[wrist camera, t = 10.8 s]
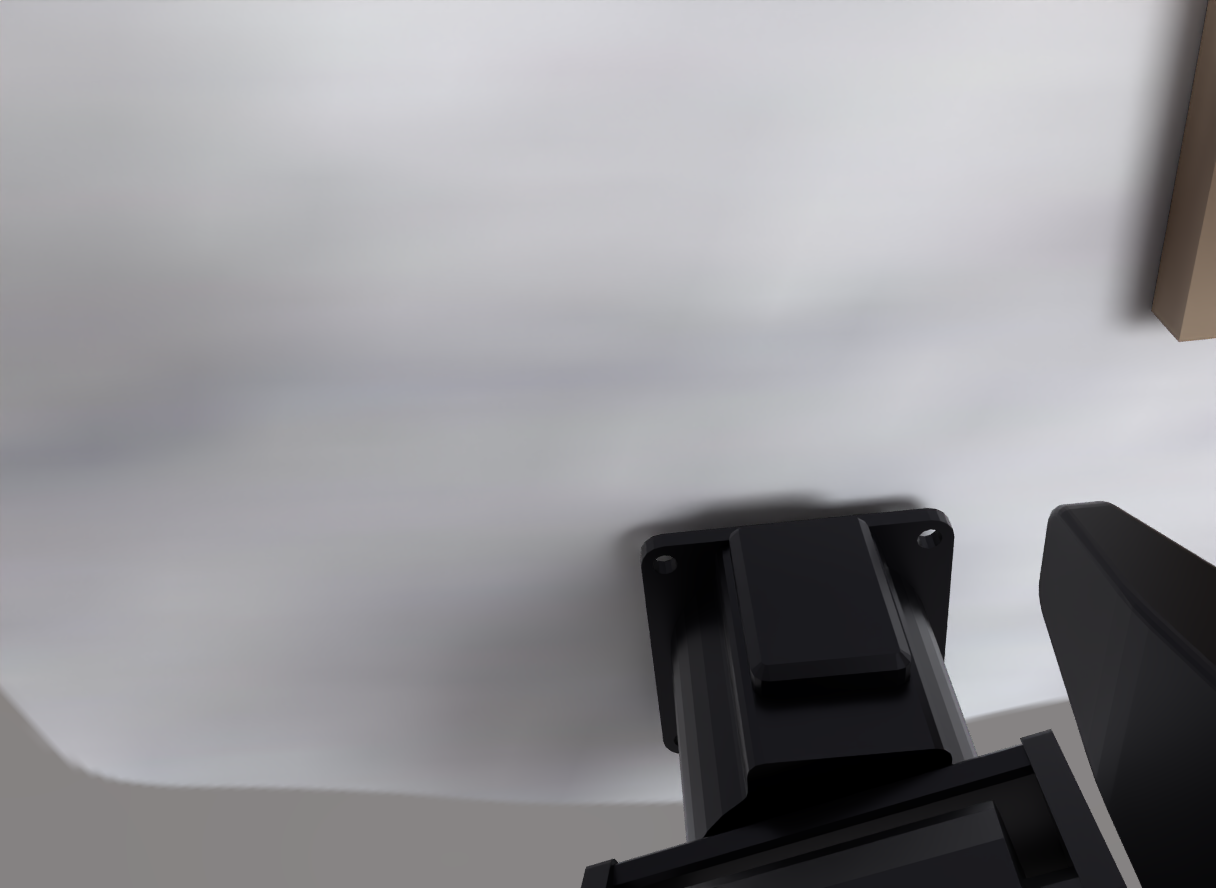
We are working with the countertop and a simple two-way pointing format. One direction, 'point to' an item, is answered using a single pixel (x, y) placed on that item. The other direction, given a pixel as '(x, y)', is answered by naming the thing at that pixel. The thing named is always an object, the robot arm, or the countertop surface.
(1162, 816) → the robot arm
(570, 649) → the countertop surface
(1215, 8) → the gear board
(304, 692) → the countertop surface
